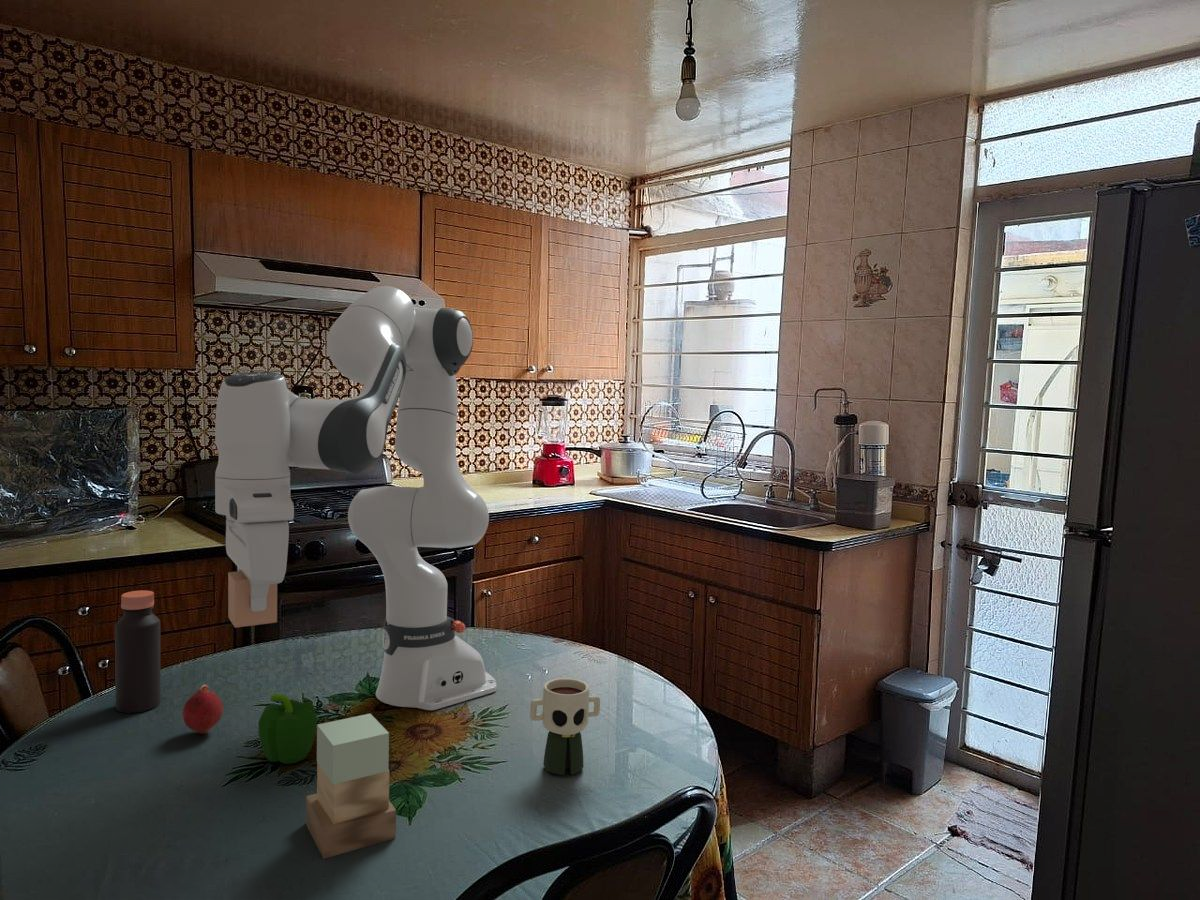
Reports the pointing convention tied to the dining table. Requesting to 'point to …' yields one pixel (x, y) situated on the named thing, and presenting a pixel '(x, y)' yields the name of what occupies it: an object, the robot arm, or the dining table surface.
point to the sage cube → (352, 748)
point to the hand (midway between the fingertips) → (252, 603)
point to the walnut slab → (348, 829)
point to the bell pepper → (287, 730)
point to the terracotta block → (240, 606)
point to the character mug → (564, 722)
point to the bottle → (137, 654)
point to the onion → (202, 710)
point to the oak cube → (352, 796)
